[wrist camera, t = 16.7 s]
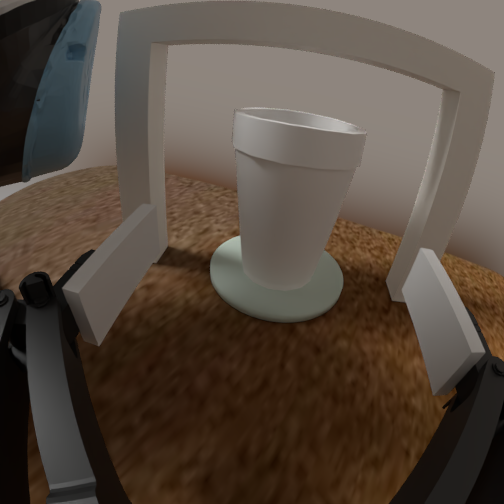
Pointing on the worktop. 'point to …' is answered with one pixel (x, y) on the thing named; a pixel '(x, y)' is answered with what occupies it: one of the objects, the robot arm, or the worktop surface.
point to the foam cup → (290, 189)
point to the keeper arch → (313, 40)
